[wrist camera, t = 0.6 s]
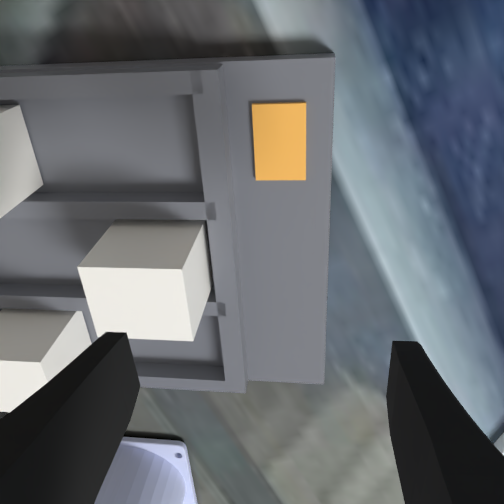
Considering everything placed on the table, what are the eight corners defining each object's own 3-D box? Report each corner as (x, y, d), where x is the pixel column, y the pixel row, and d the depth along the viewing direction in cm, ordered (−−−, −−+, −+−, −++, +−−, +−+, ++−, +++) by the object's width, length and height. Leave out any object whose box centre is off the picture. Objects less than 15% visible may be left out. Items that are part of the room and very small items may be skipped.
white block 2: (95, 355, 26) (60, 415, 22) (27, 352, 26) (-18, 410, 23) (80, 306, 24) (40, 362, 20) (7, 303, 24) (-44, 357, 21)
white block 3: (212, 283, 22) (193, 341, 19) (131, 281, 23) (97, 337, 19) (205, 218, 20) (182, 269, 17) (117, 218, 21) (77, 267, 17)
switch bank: (324, 370, 25) (324, 399, 24) (-30, 352, 28) (-52, 377, 27) (334, 52, 17) (336, 62, 16) (-165, 72, 20) (-209, 81, 18)
